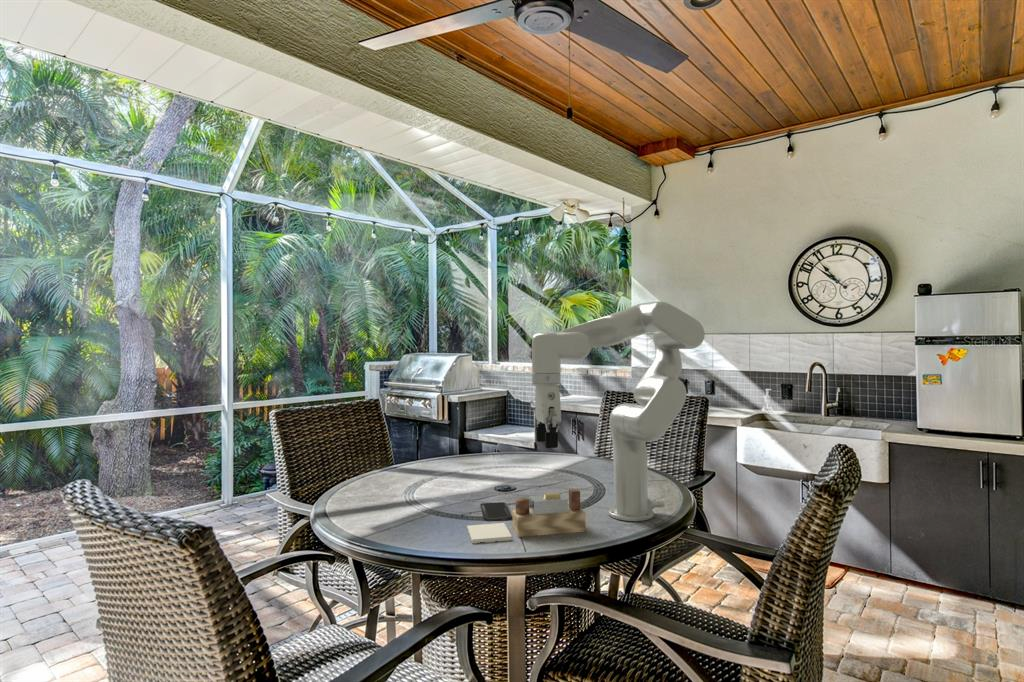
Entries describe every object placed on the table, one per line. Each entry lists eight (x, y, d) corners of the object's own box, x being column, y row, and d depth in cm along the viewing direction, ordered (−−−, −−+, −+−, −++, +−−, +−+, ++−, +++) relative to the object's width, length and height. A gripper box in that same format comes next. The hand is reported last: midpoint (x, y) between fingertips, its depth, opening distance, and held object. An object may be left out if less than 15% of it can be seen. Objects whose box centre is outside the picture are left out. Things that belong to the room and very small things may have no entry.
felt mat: (503, 526, 156) (503, 522, 156) (511, 540, 145) (511, 536, 145) (467, 529, 154) (466, 525, 154) (472, 543, 143) (472, 539, 143)
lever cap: (562, 506, 156) (561, 490, 156) (567, 512, 150) (567, 495, 150) (529, 509, 154) (529, 492, 154) (534, 515, 149) (534, 497, 149)
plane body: (577, 523, 157) (576, 486, 157) (585, 531, 151) (585, 493, 151) (512, 528, 154) (512, 490, 154) (518, 537, 147) (517, 497, 147)
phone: (484, 518, 161) (480, 503, 176) (484, 522, 161) (480, 506, 176) (512, 516, 162) (505, 501, 177) (512, 520, 162) (505, 505, 177)
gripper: (569, 381, 145) (570, 449, 145) (551, 377, 162) (552, 438, 162) (540, 382, 143) (540, 451, 143) (525, 378, 160) (526, 439, 160)
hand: (546, 444), depth 152 cm, fingers open, 9 cm apart
